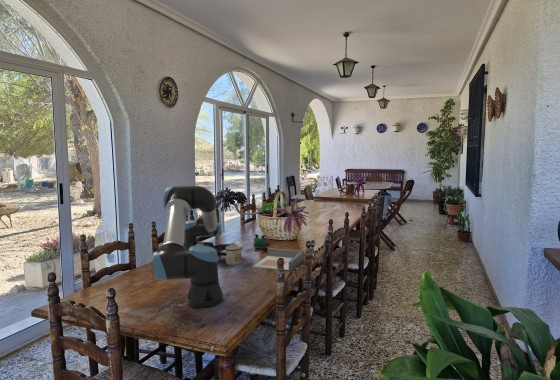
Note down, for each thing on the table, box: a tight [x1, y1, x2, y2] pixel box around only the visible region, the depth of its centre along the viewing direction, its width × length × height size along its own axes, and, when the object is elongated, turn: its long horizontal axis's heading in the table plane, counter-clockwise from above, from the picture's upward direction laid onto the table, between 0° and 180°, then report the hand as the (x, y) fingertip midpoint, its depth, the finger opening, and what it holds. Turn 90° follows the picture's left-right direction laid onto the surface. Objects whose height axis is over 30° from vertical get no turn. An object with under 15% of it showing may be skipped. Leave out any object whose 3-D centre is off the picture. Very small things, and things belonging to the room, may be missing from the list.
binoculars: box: [253, 233, 271, 253], centre depth 239 cm, size 9×11×10 cm
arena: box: [252, 247, 305, 272], centre depth 212 cm, size 22×22×5 cm
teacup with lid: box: [225, 241, 242, 266], centre depth 216 cm, size 12×9×12 cm
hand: (237, 251), depth 215 cm, fingers open, 13 cm apart
